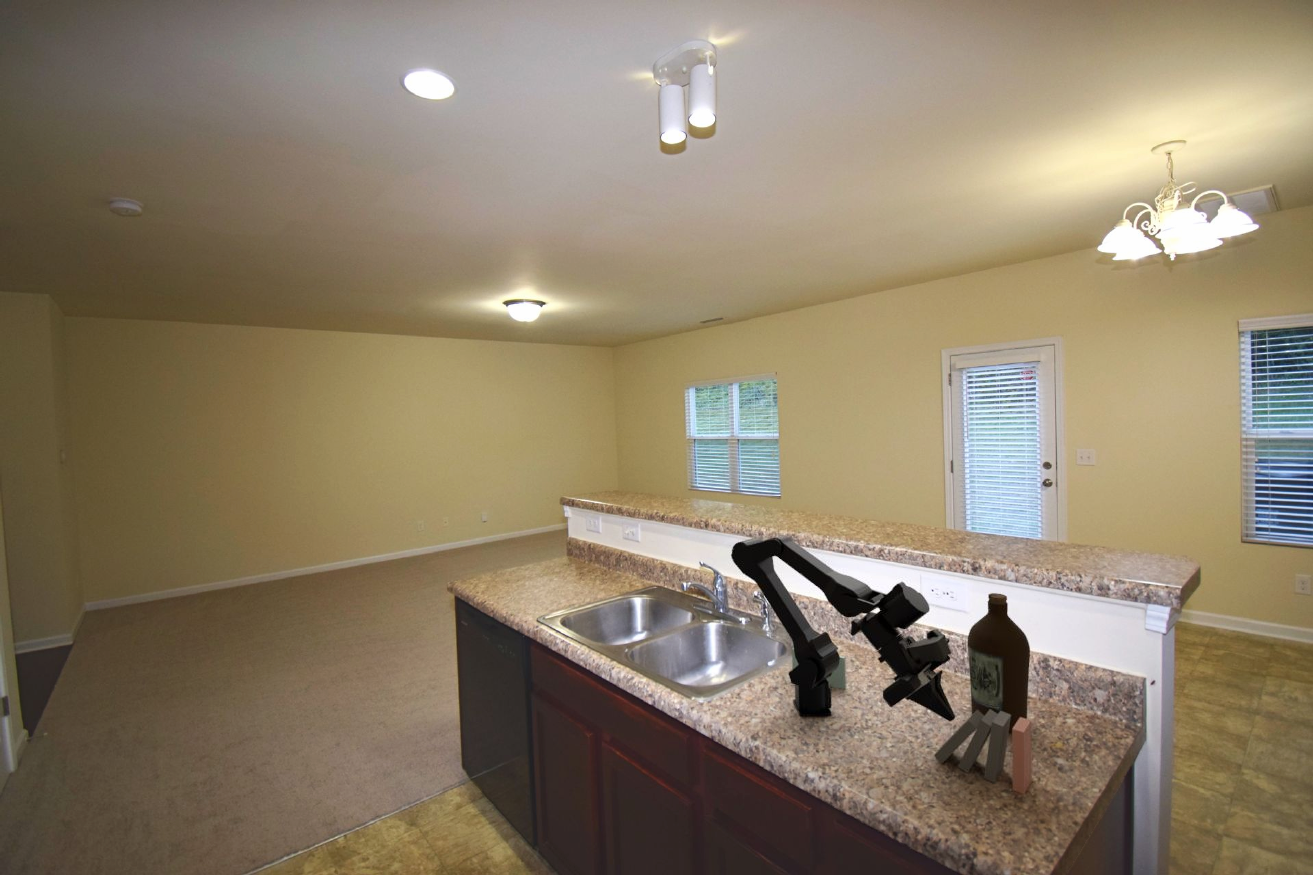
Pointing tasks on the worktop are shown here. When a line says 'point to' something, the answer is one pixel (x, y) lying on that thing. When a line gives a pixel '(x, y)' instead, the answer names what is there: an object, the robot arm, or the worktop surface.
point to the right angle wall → (837, 676)
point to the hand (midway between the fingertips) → (953, 719)
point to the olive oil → (998, 663)
